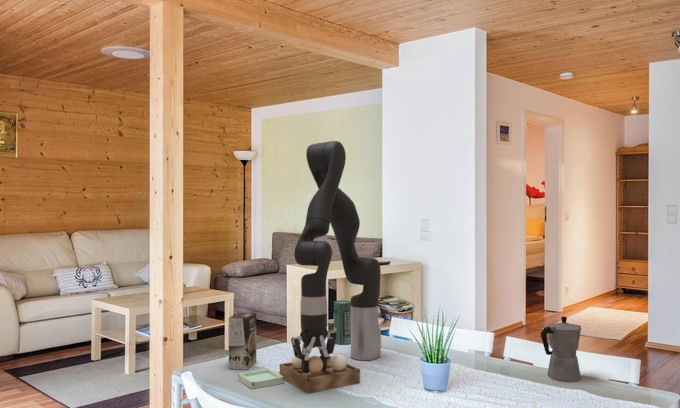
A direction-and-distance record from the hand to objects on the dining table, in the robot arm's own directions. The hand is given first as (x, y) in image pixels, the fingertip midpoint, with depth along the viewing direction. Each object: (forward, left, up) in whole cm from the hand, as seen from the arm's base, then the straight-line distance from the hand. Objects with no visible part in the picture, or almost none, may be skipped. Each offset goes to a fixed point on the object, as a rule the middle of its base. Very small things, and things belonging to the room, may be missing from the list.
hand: (314, 370), depth 169 cm
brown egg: (0, 0, +2) cm, 2 cm away
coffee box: (+9, -30, -5) cm, 32 cm away
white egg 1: (0, -8, +1) cm, 8 cm away
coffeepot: (-65, +33, -5) cm, 73 cm away
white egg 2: (-8, 0, +1) cm, 8 cm away
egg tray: (-4, -4, -4) cm, 7 cm away
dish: (+11, -12, -4) cm, 17 cm away
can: (-33, -37, -5) cm, 50 cm away
